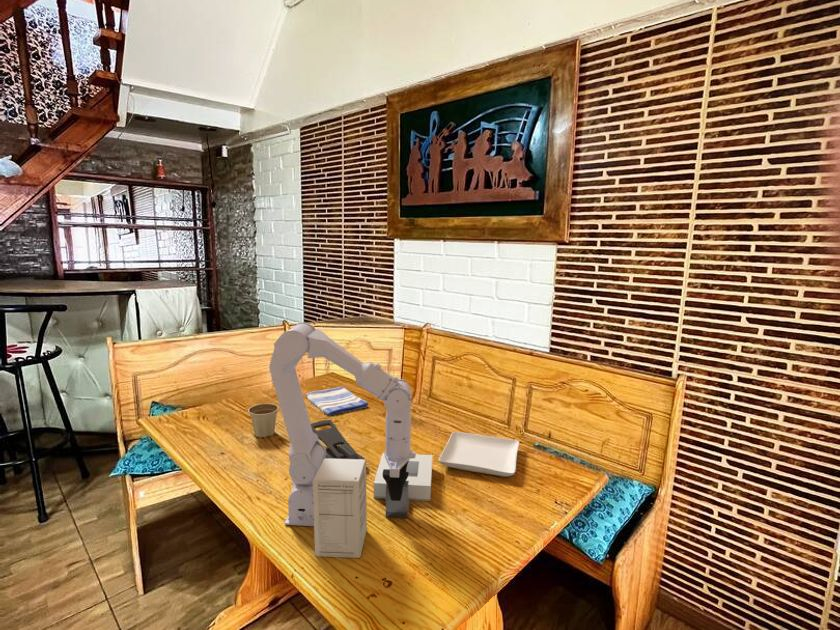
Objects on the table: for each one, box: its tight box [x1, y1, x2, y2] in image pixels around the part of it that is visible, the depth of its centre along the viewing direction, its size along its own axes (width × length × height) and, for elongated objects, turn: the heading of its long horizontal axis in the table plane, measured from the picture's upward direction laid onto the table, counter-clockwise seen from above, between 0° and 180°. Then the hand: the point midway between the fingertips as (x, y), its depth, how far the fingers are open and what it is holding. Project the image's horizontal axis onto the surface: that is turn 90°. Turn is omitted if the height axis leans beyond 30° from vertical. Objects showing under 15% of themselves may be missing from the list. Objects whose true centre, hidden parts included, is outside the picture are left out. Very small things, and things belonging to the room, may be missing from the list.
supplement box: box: [313, 458, 368, 559], centre depth 93 cm, size 10×9×17 cm
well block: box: [373, 452, 433, 502], centre depth 118 cm, size 16×14×4 cm
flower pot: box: [247, 402, 280, 438], centre depth 145 cm, size 9×9×9 cm
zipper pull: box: [310, 419, 366, 460], centre depth 131 cm, size 9×7×25 cm
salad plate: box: [438, 431, 520, 477], centre depth 132 cm, size 21×21×3 cm
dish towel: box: [305, 386, 369, 416], centre depth 175 cm, size 17×24×3 cm
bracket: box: [385, 481, 410, 520], centre depth 105 cm, size 6×5×8 cm
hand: (397, 490), depth 103 cm, fingers open, 7 cm apart
